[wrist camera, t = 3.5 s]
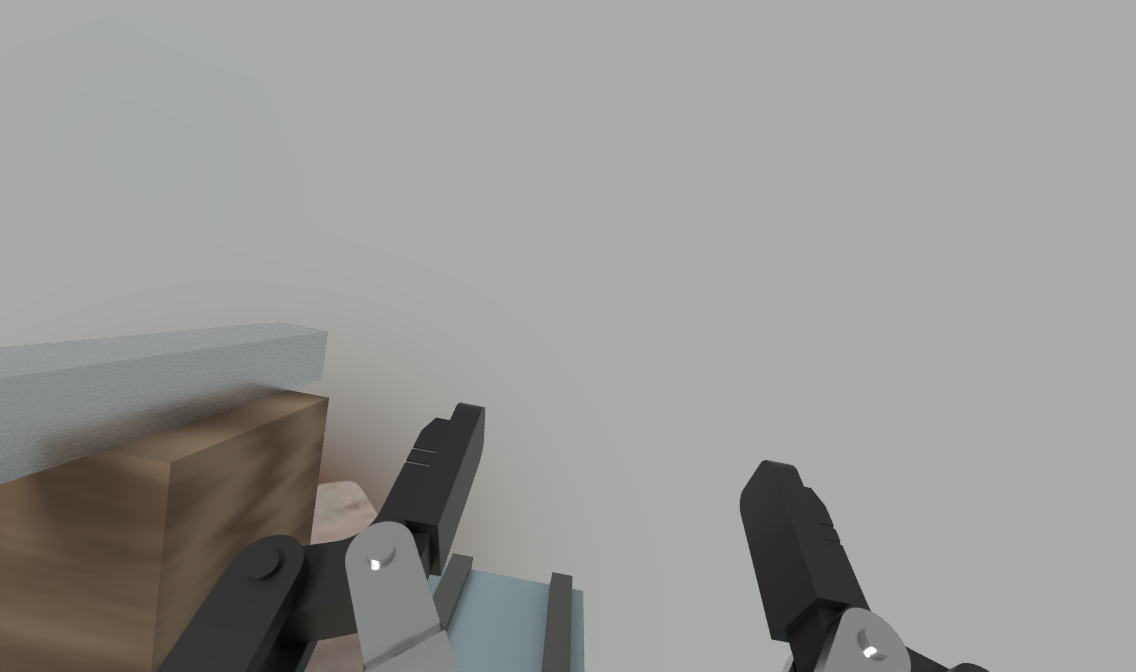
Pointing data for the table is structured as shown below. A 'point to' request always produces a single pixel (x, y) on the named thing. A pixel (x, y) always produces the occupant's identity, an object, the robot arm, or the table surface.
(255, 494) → the tall stand
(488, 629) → the blue grey angular block
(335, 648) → the table surface
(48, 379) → the steel bar
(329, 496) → the table surface
